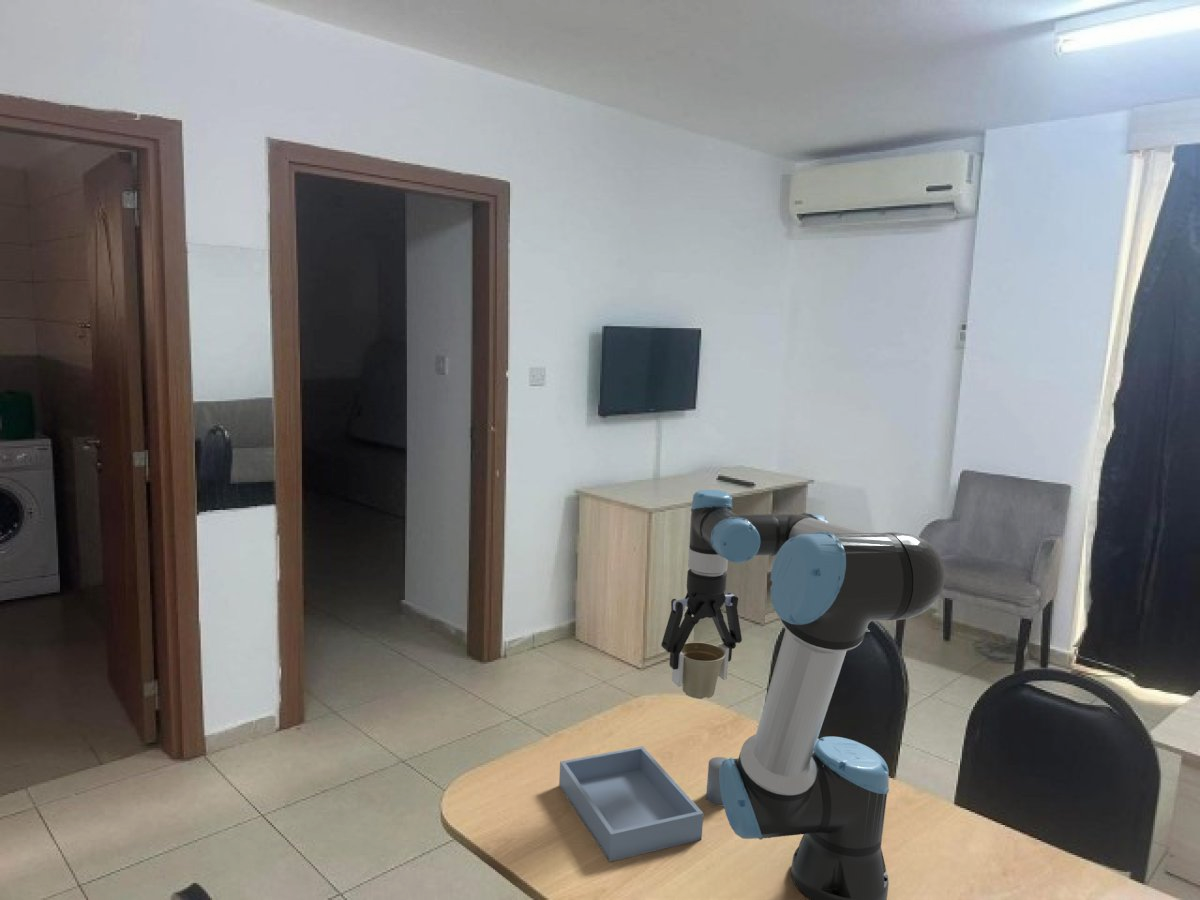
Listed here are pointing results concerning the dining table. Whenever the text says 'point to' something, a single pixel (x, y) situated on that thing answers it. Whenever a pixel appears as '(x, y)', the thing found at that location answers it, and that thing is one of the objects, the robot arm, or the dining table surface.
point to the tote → (629, 803)
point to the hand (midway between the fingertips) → (699, 680)
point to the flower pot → (701, 668)
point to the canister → (714, 781)
